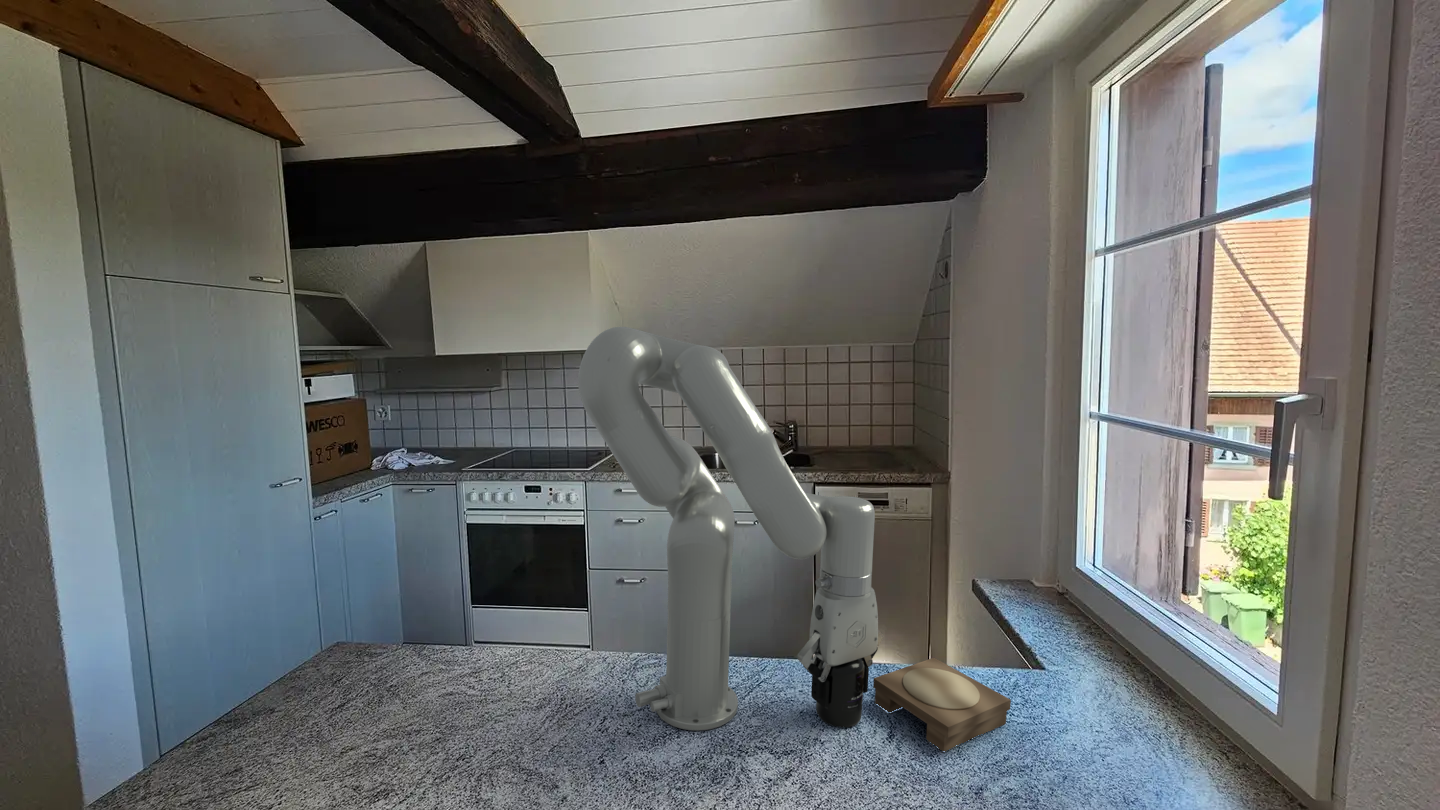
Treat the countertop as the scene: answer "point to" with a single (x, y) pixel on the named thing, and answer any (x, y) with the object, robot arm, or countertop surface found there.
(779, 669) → the countertop surface
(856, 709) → the supplement bottle
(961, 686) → the walnut stand
